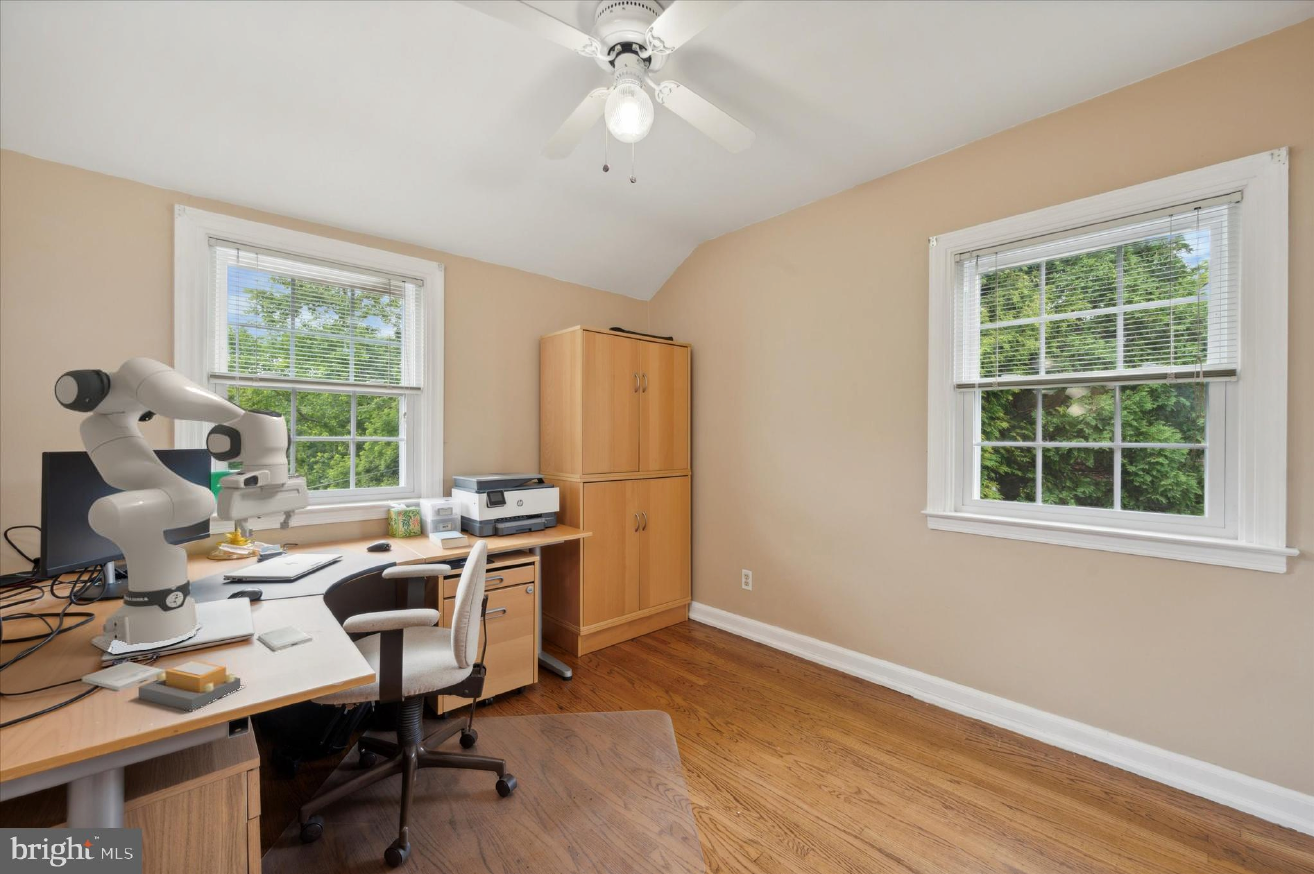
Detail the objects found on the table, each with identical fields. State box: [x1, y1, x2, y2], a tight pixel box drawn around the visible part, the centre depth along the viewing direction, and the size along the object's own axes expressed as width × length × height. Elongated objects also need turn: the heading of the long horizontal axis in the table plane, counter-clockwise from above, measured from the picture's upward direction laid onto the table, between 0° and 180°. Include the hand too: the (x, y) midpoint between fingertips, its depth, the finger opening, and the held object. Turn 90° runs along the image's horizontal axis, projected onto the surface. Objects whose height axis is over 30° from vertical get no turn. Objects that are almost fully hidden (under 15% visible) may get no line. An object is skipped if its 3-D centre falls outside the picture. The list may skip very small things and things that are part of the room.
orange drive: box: [165, 660, 227, 693], centre depth 111 cm, size 10×5×5 cm, turn 73°
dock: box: [138, 671, 245, 712], centre depth 111 cm, size 16×10×4 cm, turn 73°
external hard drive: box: [81, 661, 166, 692], centre depth 117 cm, size 2×8×12 cm
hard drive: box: [257, 625, 313, 653], centre depth 138 cm, size 2×8×12 cm
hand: (266, 533), depth 130 cm, fingers open, 8 cm apart
